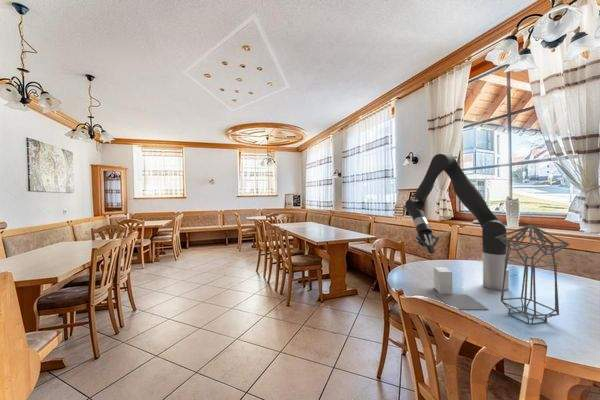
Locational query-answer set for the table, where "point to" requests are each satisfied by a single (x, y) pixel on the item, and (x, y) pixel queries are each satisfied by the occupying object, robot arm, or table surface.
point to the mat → (461, 301)
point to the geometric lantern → (539, 234)
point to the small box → (443, 280)
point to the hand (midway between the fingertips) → (432, 252)
